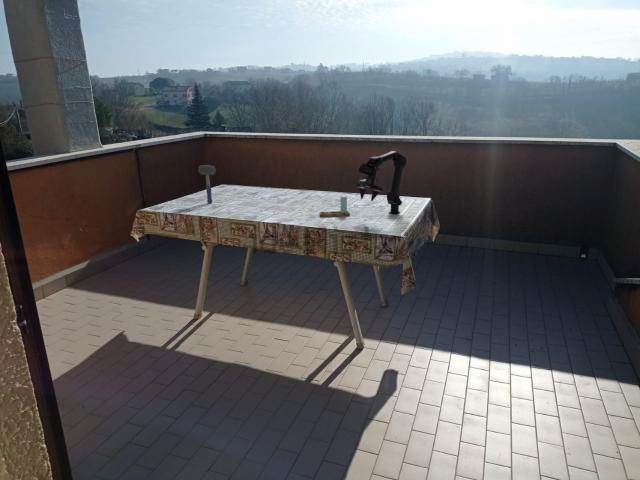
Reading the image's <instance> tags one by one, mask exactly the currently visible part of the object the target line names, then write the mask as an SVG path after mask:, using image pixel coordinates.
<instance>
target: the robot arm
mask: <svg viewBox="0 0 640 480" xmlns="http://www.w3.org/2000/svg"><path fill="white" fill-rule="evenodd" d="M390 160H392V162H393V166H394V172H393V178H392V181H391V182H392V183H391V188H390V189H389V191H386V193H387V194H386V201H387V204H388V205H390V211H389V212H388V214H392V215H398V214H400V213H401V211H400V210H399V209H400V206H401V205H402V204H403V201H402V199H401V197H400V192H399V188H400V183H401V178H402V173H403V170H404V169H405V167H406V164H407V158H406V156H404V155H402V154H400V153H399V152H398V151H396V150H394V151H393V150H391V151H389V152H386V153H385V154H382V155H379V156H371V157H369V160H368V161H366V163H365V162H362V165H361V164H360V165H359V167H358V172H359V174H362V175H365V177H364V179H359V182H357V183H356V187H357V189H358V190H359V192H360V193H359V195H360V199H361V200H362V199H364V196H365V194H366V191H367V189H371V192H372V194H371V198H370V199H371V202H373V201H374V200H375V199H376V197H377V196H378V195H379V194H380V193H381V192H383V190H384V189H383V186H380V185H377V184H376V185H375V183H376V181H377V180H378V179H377V175H378V171H379V172H380V168H379V167H380V166H382V165H383V163H385V162H387V161H390Z"/></svg>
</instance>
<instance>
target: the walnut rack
mask: <svg viewBox="0 0 640 480" xmlns="http://www.w3.org/2000/svg"><path fill="white" fill-rule="evenodd" d="M330 212H331V214H324V211H319V217H320V218H331V217H332V218H334V217H350V215H351V214H350V211H349V210H347V213H341V210H337V211H336V210H335V211H334V210H333V211H331V210H330Z"/></svg>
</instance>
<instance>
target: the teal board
mask: <svg viewBox="0 0 640 480" xmlns="http://www.w3.org/2000/svg"><path fill="white" fill-rule="evenodd" d="M347 202H348V196H347V195H344V196H343V195H341V196H340V211H341V213H347V211H348V203H347Z"/></svg>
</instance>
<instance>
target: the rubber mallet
mask: <svg viewBox="0 0 640 480" xmlns="http://www.w3.org/2000/svg"><path fill="white" fill-rule="evenodd" d="M197 171H198V173H199V174H200V175H203V176H204V175H205V182H206V186H205V188H206V196H207V197H206V198H207V200H206V201H207V203H208V204H212V203H213V198H212V197H213V196H212V187H211V183H210V182H211V181H210V176H213V175H215V174H216V172H217V169H216V167H215V165H210V164H209V165H208V164H205V165H204V164H203V165H199V166H198V169H197Z"/></svg>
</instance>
